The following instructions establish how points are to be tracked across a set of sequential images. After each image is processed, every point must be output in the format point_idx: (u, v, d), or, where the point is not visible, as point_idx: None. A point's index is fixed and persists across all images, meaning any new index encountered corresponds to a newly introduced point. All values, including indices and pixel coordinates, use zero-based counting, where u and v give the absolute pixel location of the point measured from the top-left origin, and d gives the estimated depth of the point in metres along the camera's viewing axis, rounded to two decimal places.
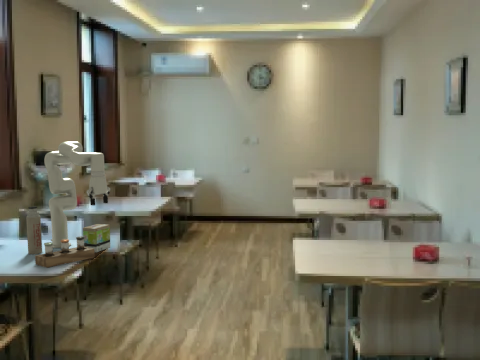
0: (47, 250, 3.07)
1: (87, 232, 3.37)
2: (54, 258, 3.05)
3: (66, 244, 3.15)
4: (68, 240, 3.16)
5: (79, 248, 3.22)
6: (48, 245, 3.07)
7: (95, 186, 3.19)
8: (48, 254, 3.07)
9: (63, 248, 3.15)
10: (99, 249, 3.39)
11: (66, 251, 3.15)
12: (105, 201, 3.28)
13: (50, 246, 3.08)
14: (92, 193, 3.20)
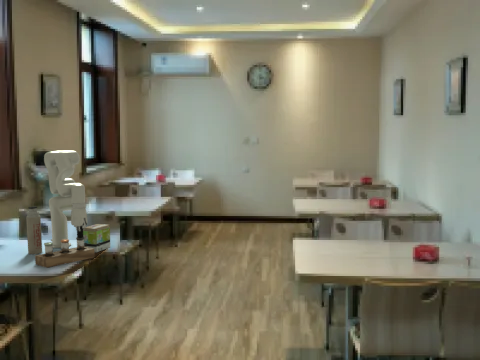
0: (47, 250, 3.07)
1: (87, 232, 3.37)
2: (54, 258, 3.05)
3: (66, 244, 3.15)
4: (68, 240, 3.16)
5: (79, 248, 3.22)
6: (48, 245, 3.07)
7: None
8: (48, 254, 3.07)
9: (63, 248, 3.15)
10: (99, 249, 3.39)
11: (66, 251, 3.15)
12: None
13: (50, 246, 3.08)
14: (81, 226, 3.21)
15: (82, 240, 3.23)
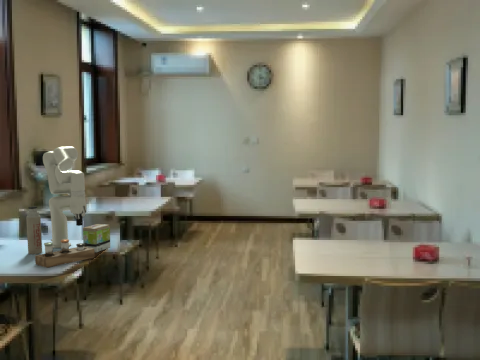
0: (47, 250, 3.07)
1: (87, 232, 3.37)
2: (54, 258, 3.05)
3: (66, 244, 3.15)
4: (68, 240, 3.16)
5: None
6: (48, 245, 3.07)
7: None
8: (48, 254, 3.07)
9: (63, 248, 3.15)
10: (99, 249, 3.39)
11: (66, 251, 3.15)
12: None
13: (50, 246, 3.08)
14: (80, 214, 3.21)
15: (82, 247, 3.23)
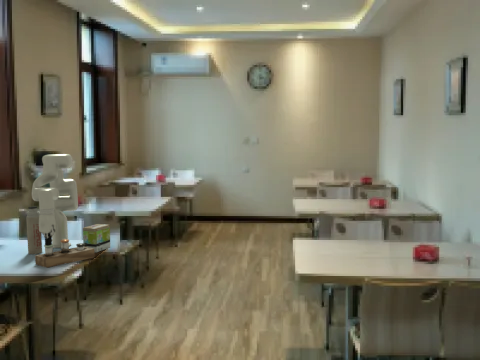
0: (47, 252, 3.07)
1: (87, 232, 3.37)
2: (54, 258, 3.05)
3: (66, 244, 3.15)
4: (68, 240, 3.16)
5: None
6: (48, 247, 3.07)
7: None
8: (48, 256, 3.07)
9: (63, 248, 3.15)
10: (99, 249, 3.39)
11: (66, 251, 3.15)
12: None
13: (50, 248, 3.08)
14: (49, 233, 3.06)
15: (82, 247, 3.23)
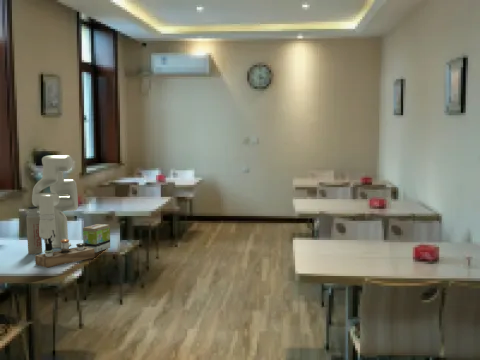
0: None
1: (87, 232, 3.37)
2: (54, 258, 3.05)
3: (66, 244, 3.15)
4: (68, 240, 3.16)
5: None
6: (48, 252, 3.07)
7: None
8: None
9: (63, 248, 3.15)
10: (99, 249, 3.39)
11: (66, 251, 3.15)
12: None
13: (50, 253, 3.08)
14: (49, 238, 3.07)
15: (82, 247, 3.23)
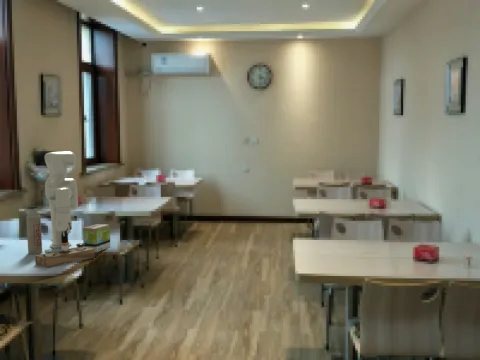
0: None
1: (87, 232, 3.37)
2: (54, 258, 3.05)
3: (66, 247, 3.15)
4: (68, 242, 3.16)
5: None
6: (48, 252, 3.07)
7: None
8: None
9: (63, 250, 3.15)
10: (99, 249, 3.39)
11: None
12: None
13: (50, 253, 3.08)
14: (65, 231, 3.14)
15: (82, 247, 3.23)
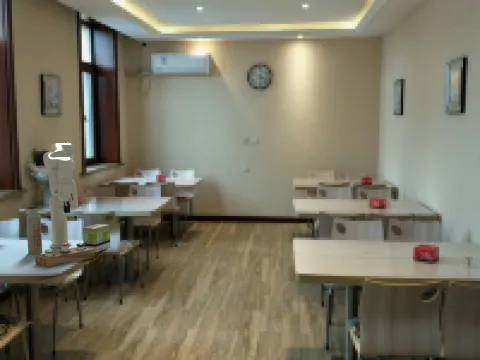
0: None
1: (87, 232, 3.37)
2: (54, 258, 3.05)
3: (66, 248, 3.15)
4: (68, 243, 3.16)
5: None
6: (48, 252, 3.07)
7: None
8: None
9: (63, 251, 3.15)
10: (99, 249, 3.39)
11: None
12: None
13: (50, 253, 3.08)
14: (68, 201, 3.19)
15: (82, 247, 3.23)
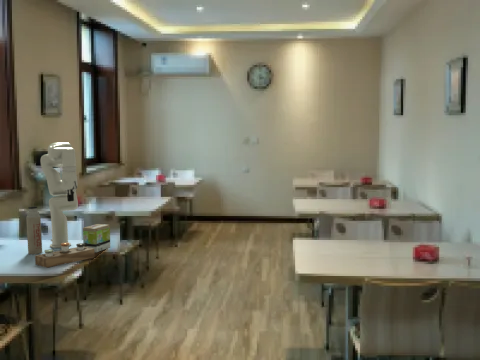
0: None
1: (87, 232, 3.37)
2: (54, 258, 3.05)
3: (66, 248, 3.15)
4: (68, 243, 3.16)
5: None
6: (48, 252, 3.07)
7: None
8: None
9: (63, 251, 3.15)
10: (99, 249, 3.39)
11: None
12: None
13: (50, 253, 3.08)
14: (71, 189, 3.25)
15: (82, 247, 3.23)
